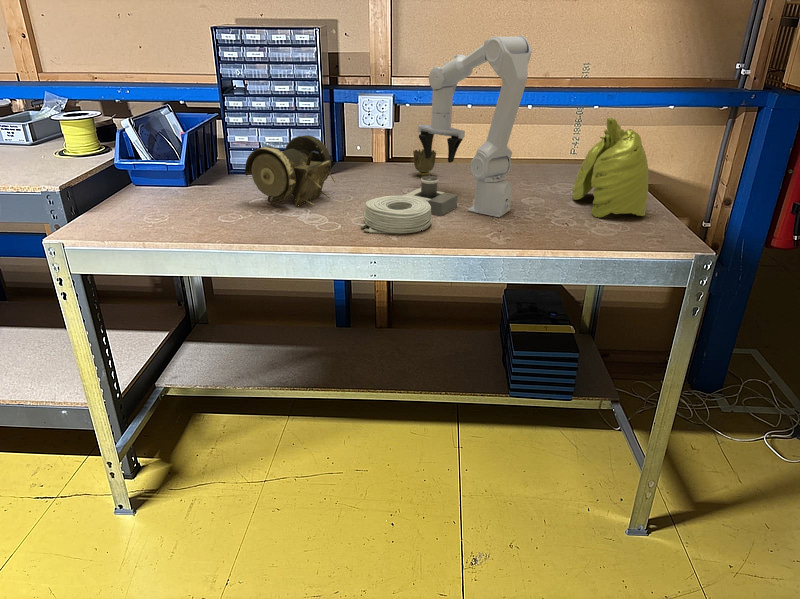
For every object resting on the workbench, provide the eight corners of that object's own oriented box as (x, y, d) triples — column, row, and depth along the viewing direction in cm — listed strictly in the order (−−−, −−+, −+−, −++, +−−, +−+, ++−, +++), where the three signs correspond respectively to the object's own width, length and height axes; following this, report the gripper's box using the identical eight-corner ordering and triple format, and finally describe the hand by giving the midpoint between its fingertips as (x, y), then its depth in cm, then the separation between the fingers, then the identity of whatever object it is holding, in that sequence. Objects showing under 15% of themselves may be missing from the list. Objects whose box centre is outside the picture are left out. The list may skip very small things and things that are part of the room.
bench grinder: (235, 190, 162) (252, 128, 149) (284, 168, 179) (303, 111, 166) (291, 231, 159) (313, 172, 146) (336, 206, 176) (359, 150, 163)
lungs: (564, 194, 176) (576, 111, 165) (613, 193, 178) (629, 111, 167) (596, 222, 154) (613, 129, 143) (652, 221, 156) (673, 129, 145)
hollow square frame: (456, 207, 163) (457, 195, 161) (441, 215, 156) (441, 203, 155) (420, 199, 169) (420, 187, 167) (403, 207, 162) (403, 195, 160)
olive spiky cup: (435, 179, 188) (437, 154, 184) (412, 178, 188) (413, 153, 184) (434, 173, 195) (435, 148, 191) (412, 172, 194) (413, 148, 191)
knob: (432, 206, 160) (433, 181, 157) (417, 203, 162) (418, 178, 159) (439, 201, 164) (441, 177, 161) (424, 199, 166) (425, 174, 162)
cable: (357, 234, 144) (357, 210, 141) (370, 211, 159) (370, 190, 156) (428, 239, 142) (429, 215, 139) (434, 215, 157) (435, 193, 154)
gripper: (471, 113, 166) (467, 160, 172) (426, 107, 172) (425, 153, 179) (459, 116, 160) (456, 165, 166) (414, 110, 167) (413, 158, 173)
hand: (439, 159), depth 172 cm, fingers open, 7 cm apart
